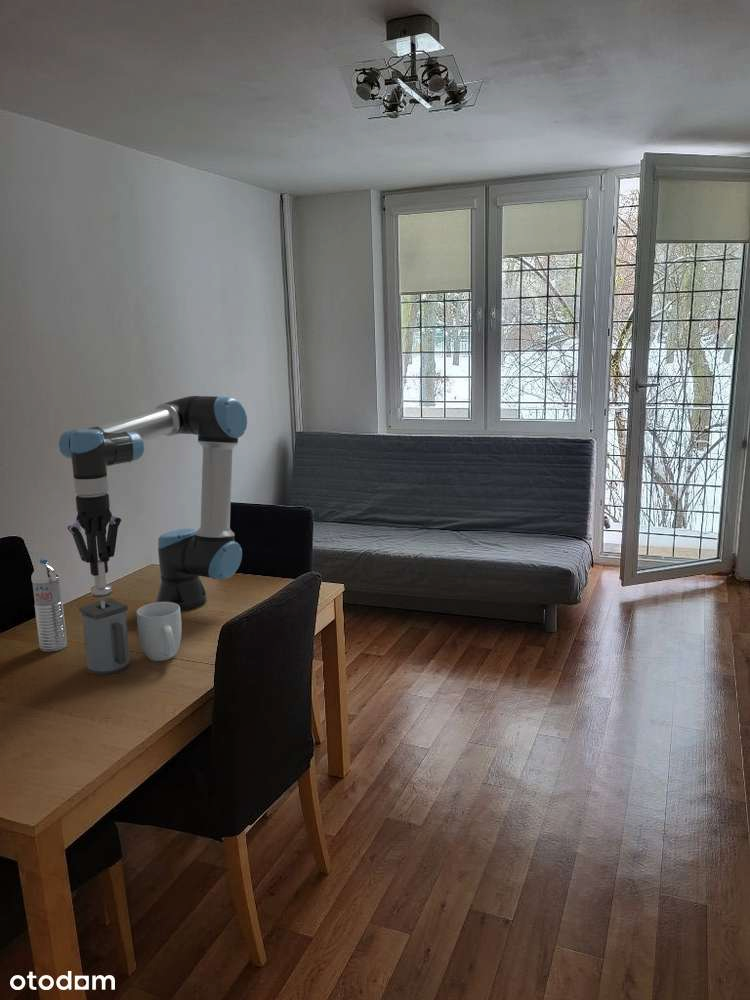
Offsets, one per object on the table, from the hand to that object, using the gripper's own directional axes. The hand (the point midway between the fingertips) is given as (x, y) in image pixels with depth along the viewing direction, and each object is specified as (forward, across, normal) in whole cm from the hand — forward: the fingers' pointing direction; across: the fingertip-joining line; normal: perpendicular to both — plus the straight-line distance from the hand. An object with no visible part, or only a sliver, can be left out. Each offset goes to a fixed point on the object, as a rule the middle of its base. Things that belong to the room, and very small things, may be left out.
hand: (100, 586), depth 182 cm
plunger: (+16, 0, 0) cm, 16 cm away
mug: (+22, -12, +6) cm, 26 cm away
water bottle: (+22, +4, -22) cm, 31 cm away
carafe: (+22, 0, +1) cm, 22 cm away
